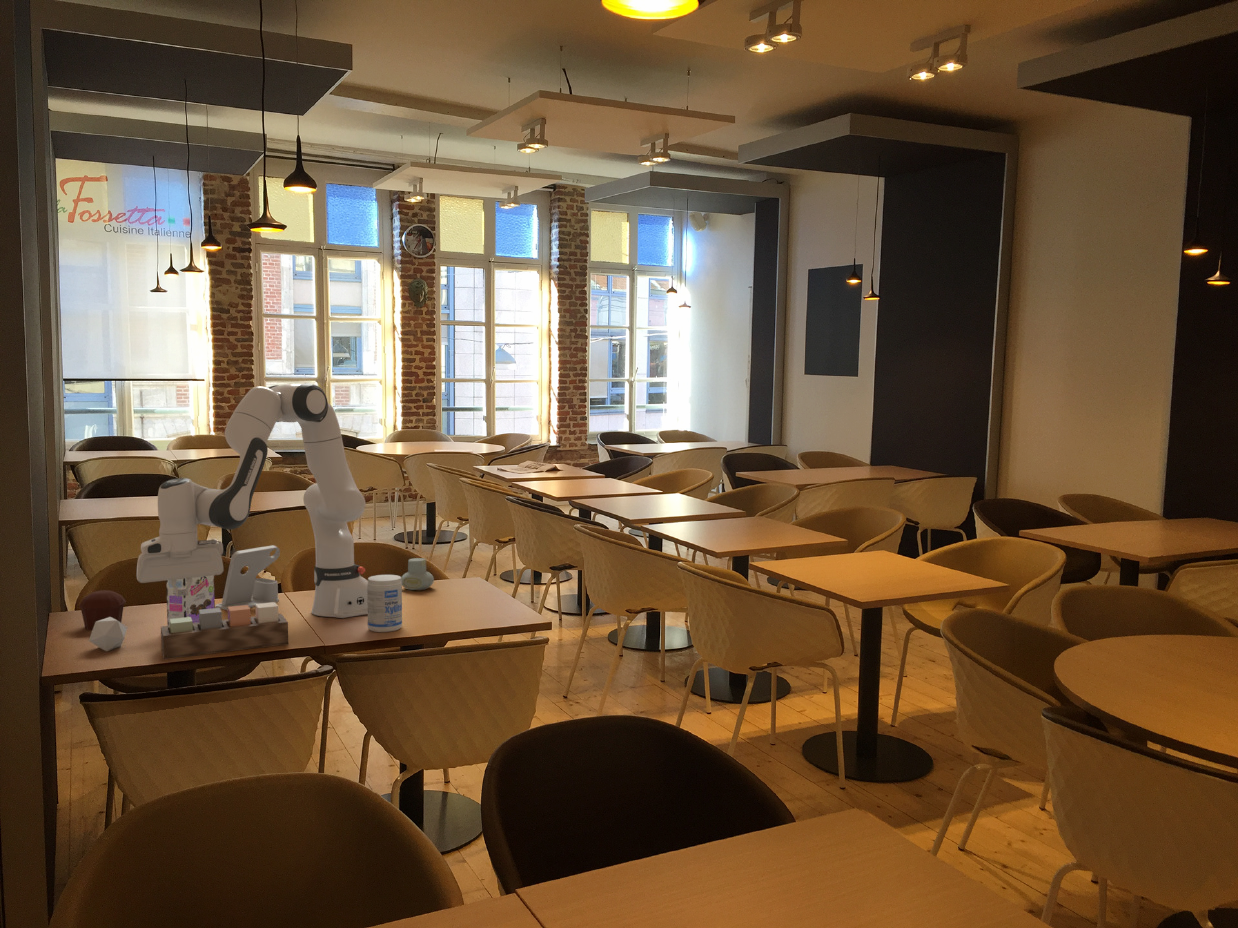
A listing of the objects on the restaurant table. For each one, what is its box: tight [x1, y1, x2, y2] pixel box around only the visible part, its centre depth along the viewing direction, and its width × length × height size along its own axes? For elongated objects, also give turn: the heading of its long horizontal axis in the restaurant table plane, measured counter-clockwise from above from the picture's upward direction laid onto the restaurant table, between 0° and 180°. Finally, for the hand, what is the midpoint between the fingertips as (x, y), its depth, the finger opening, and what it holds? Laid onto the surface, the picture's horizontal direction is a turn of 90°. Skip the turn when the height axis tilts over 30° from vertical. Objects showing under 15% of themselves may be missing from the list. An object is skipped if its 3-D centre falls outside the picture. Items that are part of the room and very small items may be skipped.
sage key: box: [170, 617, 193, 633], centre depth 247 cm, size 5×5×5 cm
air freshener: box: [400, 557, 435, 591], centre depth 322 cm, size 11×8×10 cm
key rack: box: [160, 613, 289, 660], centre depth 252 cm, size 30×10×6 cm, turn 119°
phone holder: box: [215, 544, 281, 611], centre depth 298 cm, size 17×10×18 cm, turn 146°
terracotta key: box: [227, 605, 251, 627], centre depth 254 cm, size 5×5×5 cm
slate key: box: [199, 607, 223, 630], centre depth 250 cm, size 5×5×5 cm
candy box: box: [165, 575, 216, 626], centre depth 271 cm, size 14×6×16 cm, turn 168°
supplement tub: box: [367, 574, 403, 633], centre depth 271 cm, size 10×10×15 cm
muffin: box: [78, 589, 127, 631], centre depth 271 cm, size 12×11×10 cm
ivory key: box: [255, 602, 279, 624], centre depth 257 cm, size 5×5×5 cm
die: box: [88, 617, 128, 652], centre depth 250 cm, size 8×9×10 cm
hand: (182, 595), depth 246 cm, fingers closed
